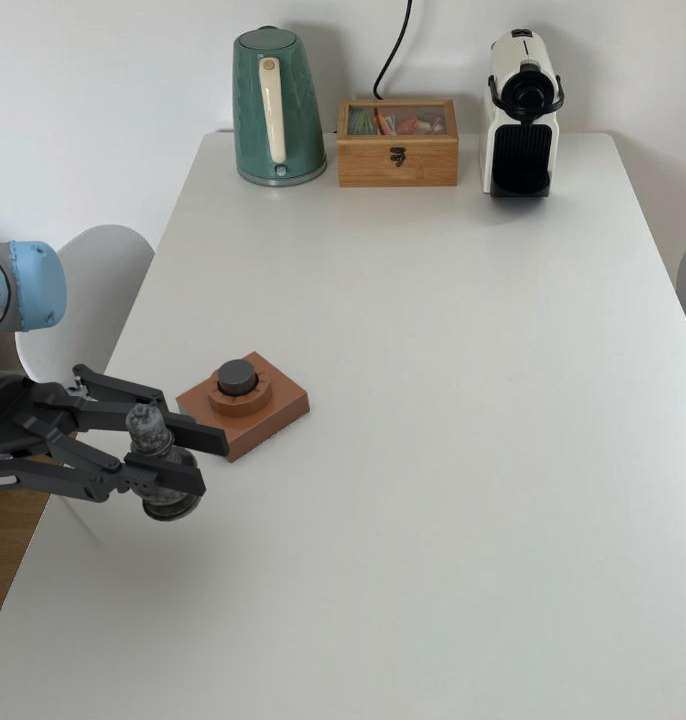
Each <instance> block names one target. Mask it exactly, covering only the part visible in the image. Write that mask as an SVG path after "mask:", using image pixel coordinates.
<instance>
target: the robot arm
mask: <svg viewBox="0 0 686 720" xmlns="http://www.w3.org/2000/svg"><path fill="white" fill-rule="evenodd" d="M65 275H66V273H65V271H64V267H63V264H62V262H61V259H60V257H59V255H58V253H57V252H56V250H55V249H54V248H53V247H52V246H51V245H50V244H48V243H46V242H44V241H41V240H25V241H23V240H21V241H16V240H15V239H11V240H8V242H0V334H8V333H9V334H11V333H19V332H20V333H29V332H30V331H34V330H43V329H48V328H53V327H55V326H57V325H58V324H59V323H61V321H62V320H63V317H65V313H66V310H67V303H68V289H67V280H66V276H65ZM71 371H72V374H73V375H72V376H70V377H68V378H67V379H65V380H63V381H62V382H59V381H58V382H57V381H48V382H38V381H35V380H33V379H31V378H30V377H27V376H26V375H23V374H20V373H16V372H11V371H7V370H2V369H0V491H3V492H4V491H13V490H22V489H24V490H29V491H35V492H40V493H45V494H50V495H55V496H60V497H64V498H65V497H67V498H70V499H74V500H81V501H86V502H91V503H97V504H103V503H105V502H107V501H108V500H109V498H110V493H111V492H113V491H114V490H116V492H117V493H118V494H126V493H128V491H130V490H131V488H135V489H139V490H143V491H147V492H158V490H159V489H160V487H163V488H167V489H171V490H176V491H180V492H184V493H188V494H192V495H196V496H200V497H202V498H203V497H204V495H205V493H206V492H207V487H206V484H205V480H204V477H203V474H202V471H201V468H199V467H198V468H195V467H191V466H186V465H182V464H178V463H173V462H169V461H165V460H161V459H156V458H152V457H148V456H144V455H139V454H135V453H131V451H128V452H127V453H126V454H125V456H124V457H123V458H122V459H123V462H122V461H121V459H120V458H119V457H116V456H114V455H112V454H109V453H108V452H106V451H103V450H101V449H99V448H96V447H94V446H92V445H89V444H87V443H85V442H82V441H80V440H78V439H76V438H74V437H71V436H70V435H71V434H72V433H84V434H85V433H88V432H89V431H90V430H93V431H94V430H96V431H97V430H98V431H109V432H111V431H112V432H124V433H125V432H126V433H129V432H128V429H127V426H126V418H127V415H128V414H129V412H130V411H131V410H132V409H134V408H135V406H136V405H137V403H140V404H143V405H145V404H149V405H153V406H155V407H157V408H158V409H159V410H160V412H161V414H162V417H163V420H164V423H165V426H166V428H168V429H170V430H171V431H172V432H173V434H174V443H173V446H178V447H182V448H185V449H187V450H192V451H195V452H201V453H204V454H209V455H214V456H218V457H221V458H226V457H227V455H228V454H229V452H230V449H229V445H228V442H227V438H226V434H225V431H224V429H219V428H214V427H210V426H205V425H201V424H196V421H195V419H194V418H193V417H191V416H187V415H183V414H180V413H178V412H174V411H170V410H169V407H168V403H167V400H166V398H165V394H164V391H163V390H161V389H159V388H156V387H152V386H148V385H144V384H141V383H137V382H133V381H129V380H125V379H121V378H117V377H114V376H110V375H106V374H103V373H100V372H99V373H98V372H95V371H94V370H93V369H91V368H90V367H88V366H87V365H86V364H85V363H77V364H74V366H73V367H72V369H71ZM88 397H89V398H90V399H92V400H88ZM34 457H43V458H46V459H47V460H49V461H51V462H54V463H56V464H53V463H48V462H42V461H36V460H33V459H31V458H34ZM58 464H59V465H58ZM60 464H63V465H60ZM64 465H67V466H64Z"/></svg>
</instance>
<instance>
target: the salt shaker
mask: <svg viewBox="0 0 686 720" xmlns="http://www.w3.org/2000/svg"><path fill="white" fill-rule="evenodd" d="M126 426H127V429H128V432H127V433H128V434H129V437H130V439H131V441H130V444H129V449H130V452H131V453H135V454H139V455H144V456H148V457H152V458H156V459H161V460H165V461H169V462H173V463H178V464H182V465H186V466H191V467H195V468H199V467H198V466H199V465H198V464H199V463H198V460H197V458H196V456H195V454H193V452H192V451H190V450H189V449H187V448H182V447H178V446H173V443H174V434H173V432H172V431H171V430H170V429H168V428H166V426H165V423H164V420H163V417H162V414H161V412H160V410H159V409H158V408H157V407H155V406H153V405H149V404H145V405H143V404H140V403H137V405H136V406H135V408H134V409H132V410H131V411H130V412H129V414H128V415H127V418H126ZM130 490H131V491H132V493H133V494H135V495H137V496H138V497H140V498H141V506H142V509H143V512H144V513H145V515H146V516H147V517H149V518H150V519H152V520H154V521H158V522H164V523H165V522H166V523H167V522H174V521H178V520H180V519H183V518H185V517H187V516H188V515H190V514H192V512H194V511H195V510H196V508H197V507H198V506H199V504H200V503H201V501H202V498H203V497H200V496H196V495H192V494H188V493H184V492H180V491H176V490H171V489H167V488H163V487H160V489H159V490H158V492H147V491H143V490H139V489H135V488H130Z"/></svg>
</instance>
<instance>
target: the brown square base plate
mask: <svg viewBox="0 0 686 720" xmlns="http://www.w3.org/2000/svg"><path fill="white" fill-rule="evenodd" d="M241 359H243V360H247V361H249V362H250V363H251V364H252V365H253V367H254V371H255V375H256V380H257V384H256V387H255V388H254V390H253V391H251V392H250V393H248V394H247V395H244V396H238V397H231V396H227V395H225V394H224V393H223V392H222V391H221V388H220V384H219V380H218V376H217V372H218V370H219V368H217V369H215V370H213V372H212V374H211V375H210V377H208V378H206V379H205V380H203V381H201V382H200V383H197V384H196V385H195V386H193V387H190V389H188V390H186V391H184V392H183V393H181V394H179V395H178V396H176V397H175V402H176V405H177V407H178V410H179V414H183V415H187V416H191V417H193V418H194V419H195V421H196V424H201V425H205V426H210V427H214V428H219V429H224V431H225V434H226V438H227V442H228V445H229V449H230V452H229V454H228V455H227V457H225V459H226V460H228V462H230V463H233V462H235V461H237V460H238V459H239V458H241V457H242V456H244V455H245V454H247V453H248V452H250V451H252V450H253V449H254V448H256V447H258V446H259V445H261V444H262V443H263V442H265V441H266V440H268V439H269V438H271V437H272V436H274V435H275V434H277V433H279V432H280V431H281V430H283V429H284V428H286V427H288V426H289V425H290V424H292V423H294V422H295V421H297V420H298V419H299V418H301V417H303V416H304V415H306V414H307V413H308V412H310V411H311V408H310V400H309V396H308V395H309V394H308V391H307V390H305V389H304V388H303V387H302V386H300V384H297V382H295V381H294V380H293V379H291V378H290V377H289V376H288V375H287V374H285V373H283V372H282V371H281V370H280V369H278V368H277V367H276V366H275V365H274V364H272V363H271V362H270V361H268V360H267V359H266V358H265V357H263V356H262V355H261V354H259V353H258V352H257V351H256V350H254V351H252V352H250V353H249V354H247V355H245V356H244V357H242V358H241Z"/></svg>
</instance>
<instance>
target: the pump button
mask: <svg viewBox="0 0 686 720" xmlns="http://www.w3.org/2000/svg"><path fill="white" fill-rule="evenodd" d="M218 369H219V370H218V372H217V376H218V380H219V384H220V388H221V391H222V392H223V393H224V394H225V395H227V396H231V397H238V396H244V395H247V394H248V393H250V392H251V391H253V390H254V388H255V387H256V384H257V380H256V375H255V371H254V367H253V365H252V364H251V363H250V362H249V361H247V360H243V359H242V358H235V359H231V360H228V361H225V362H224V363H222V364H221V366H219V368H218Z"/></svg>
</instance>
